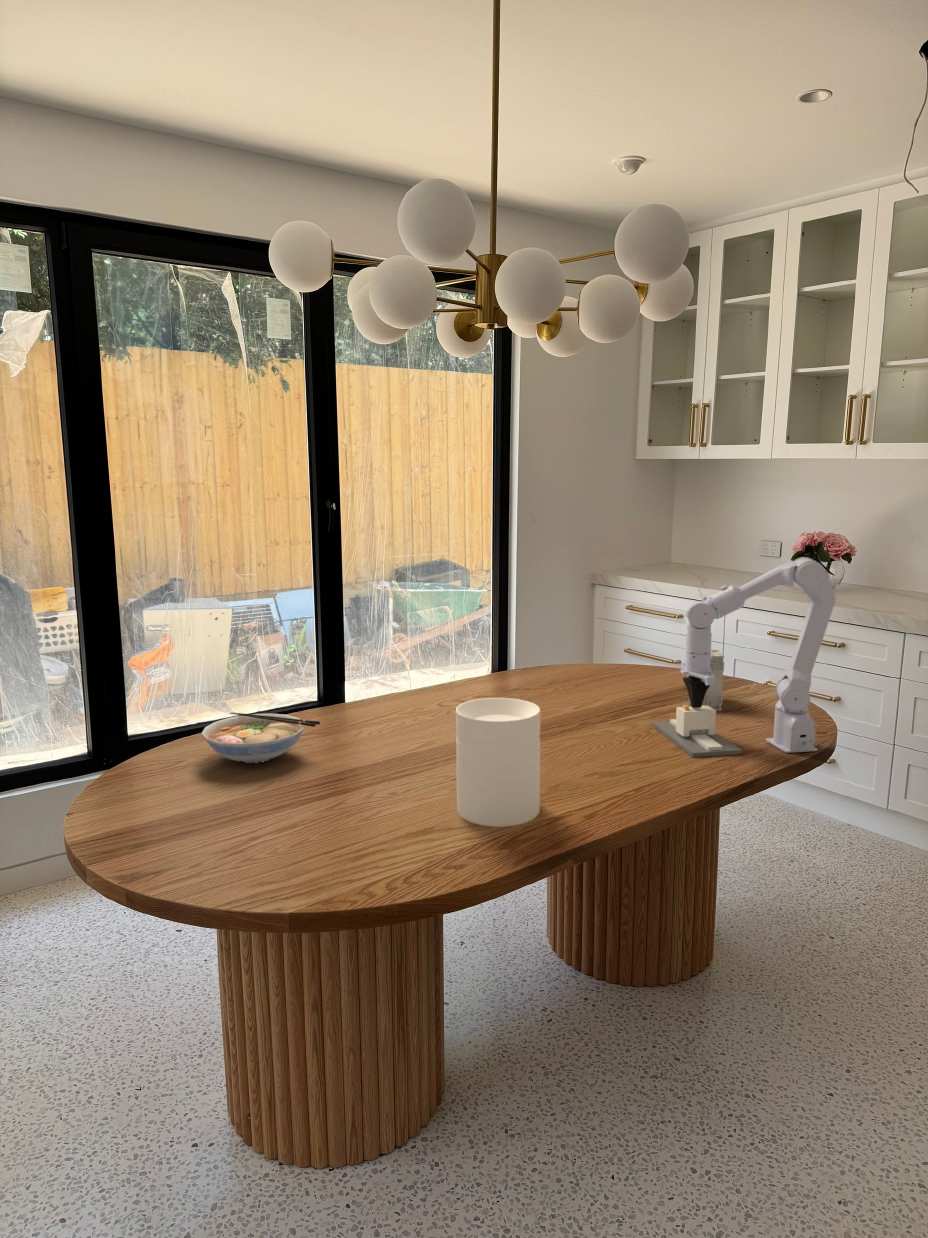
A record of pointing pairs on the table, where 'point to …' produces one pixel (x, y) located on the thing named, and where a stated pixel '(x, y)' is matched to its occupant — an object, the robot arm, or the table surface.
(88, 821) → the table surface
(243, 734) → the ramen bowl
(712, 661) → the circuit breaker
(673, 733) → the din board
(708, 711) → the block
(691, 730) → the block
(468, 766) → the canister
